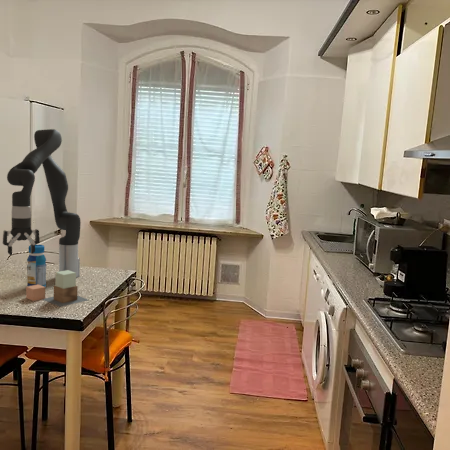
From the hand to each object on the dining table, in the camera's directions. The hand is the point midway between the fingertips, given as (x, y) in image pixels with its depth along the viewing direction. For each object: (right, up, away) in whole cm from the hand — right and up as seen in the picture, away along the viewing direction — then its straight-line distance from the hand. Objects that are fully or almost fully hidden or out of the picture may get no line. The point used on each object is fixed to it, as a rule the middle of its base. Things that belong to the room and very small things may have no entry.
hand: (21, 254), depth 198 cm
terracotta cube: (+5, -20, +2) cm, 20 cm away
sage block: (+18, -14, +1) cm, 23 cm away
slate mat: (+18, -20, +2) cm, 27 cm away
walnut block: (+18, -20, +2) cm, 27 cm away
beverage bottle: (-1, -17, +18) cm, 25 cm away
